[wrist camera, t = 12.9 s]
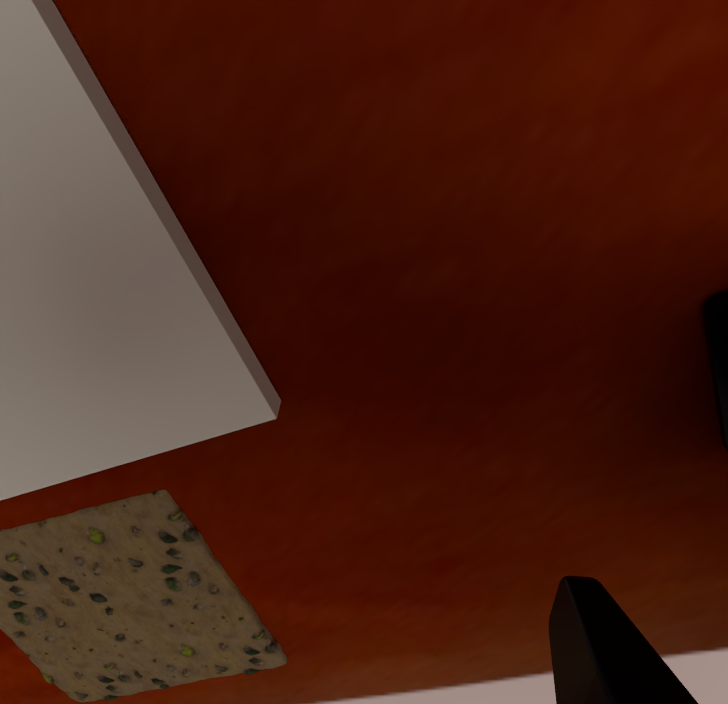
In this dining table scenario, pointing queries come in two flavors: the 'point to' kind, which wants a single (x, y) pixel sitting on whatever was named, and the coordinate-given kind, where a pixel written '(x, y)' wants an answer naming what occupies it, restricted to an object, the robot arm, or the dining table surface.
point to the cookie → (126, 601)
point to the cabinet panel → (98, 283)
